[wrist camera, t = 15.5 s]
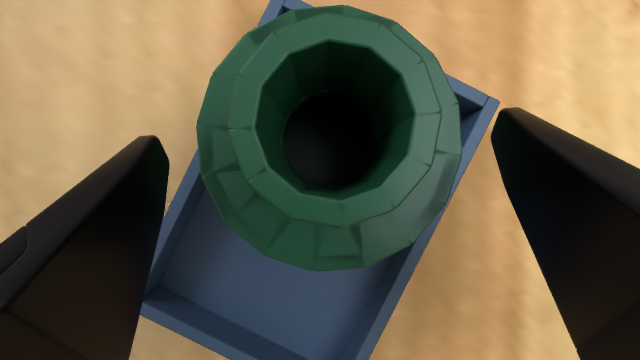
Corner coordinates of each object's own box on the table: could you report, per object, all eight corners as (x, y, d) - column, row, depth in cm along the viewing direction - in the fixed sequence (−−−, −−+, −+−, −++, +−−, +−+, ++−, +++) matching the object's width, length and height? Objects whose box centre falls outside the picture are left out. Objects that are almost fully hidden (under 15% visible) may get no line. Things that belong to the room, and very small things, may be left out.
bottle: (416, 147, 19) (638, 95, 6) (332, 245, 19) (358, 417, 6) (317, 62, 18) (310, -191, 5) (233, 162, 19) (33, 145, 6)
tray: (475, 111, 19) (501, 101, 16) (337, 379, 20) (340, 414, 17) (282, 14, 19) (276, -13, 16) (149, 286, 19) (120, 305, 17)
